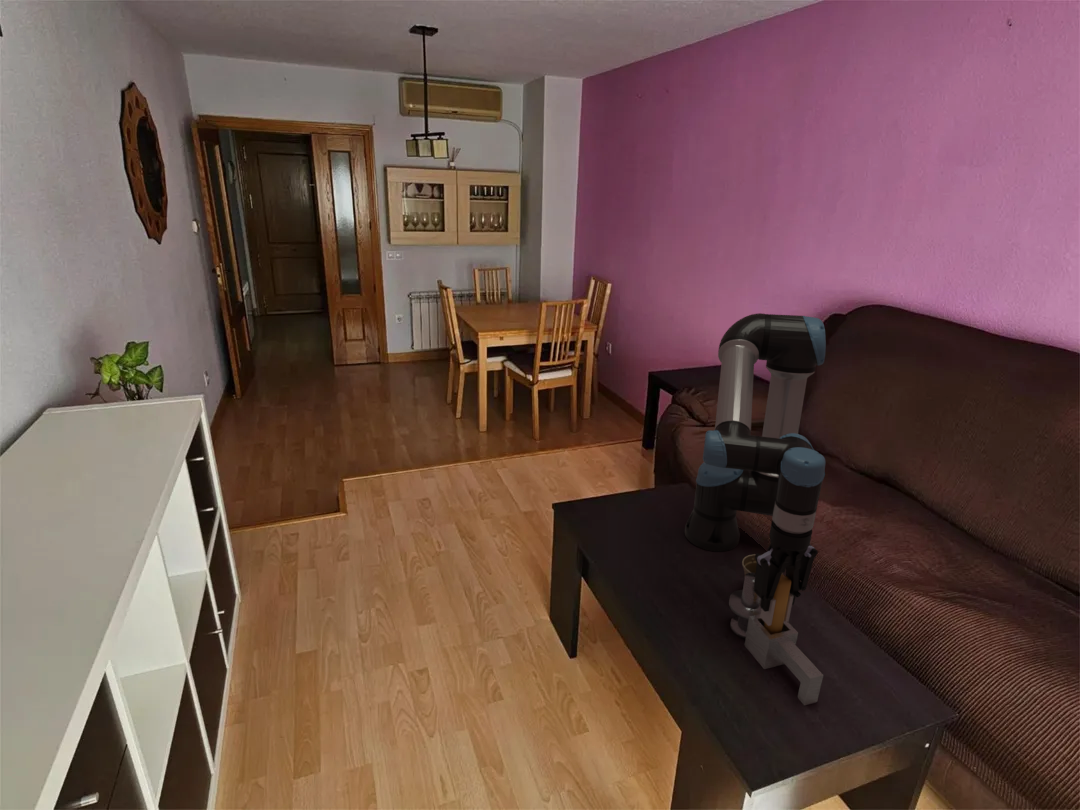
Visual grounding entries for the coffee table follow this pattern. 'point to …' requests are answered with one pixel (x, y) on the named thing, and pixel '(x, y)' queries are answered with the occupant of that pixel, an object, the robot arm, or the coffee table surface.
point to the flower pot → (750, 564)
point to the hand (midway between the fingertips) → (774, 618)
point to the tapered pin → (779, 605)
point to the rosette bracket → (772, 641)
